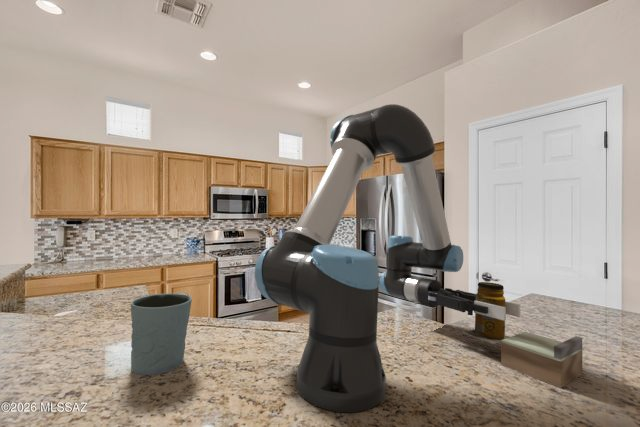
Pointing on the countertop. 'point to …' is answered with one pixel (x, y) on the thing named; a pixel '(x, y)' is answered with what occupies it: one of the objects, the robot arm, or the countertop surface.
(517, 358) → the stand
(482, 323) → the condiment
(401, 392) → the countertop surface
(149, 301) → the grey textured cup
